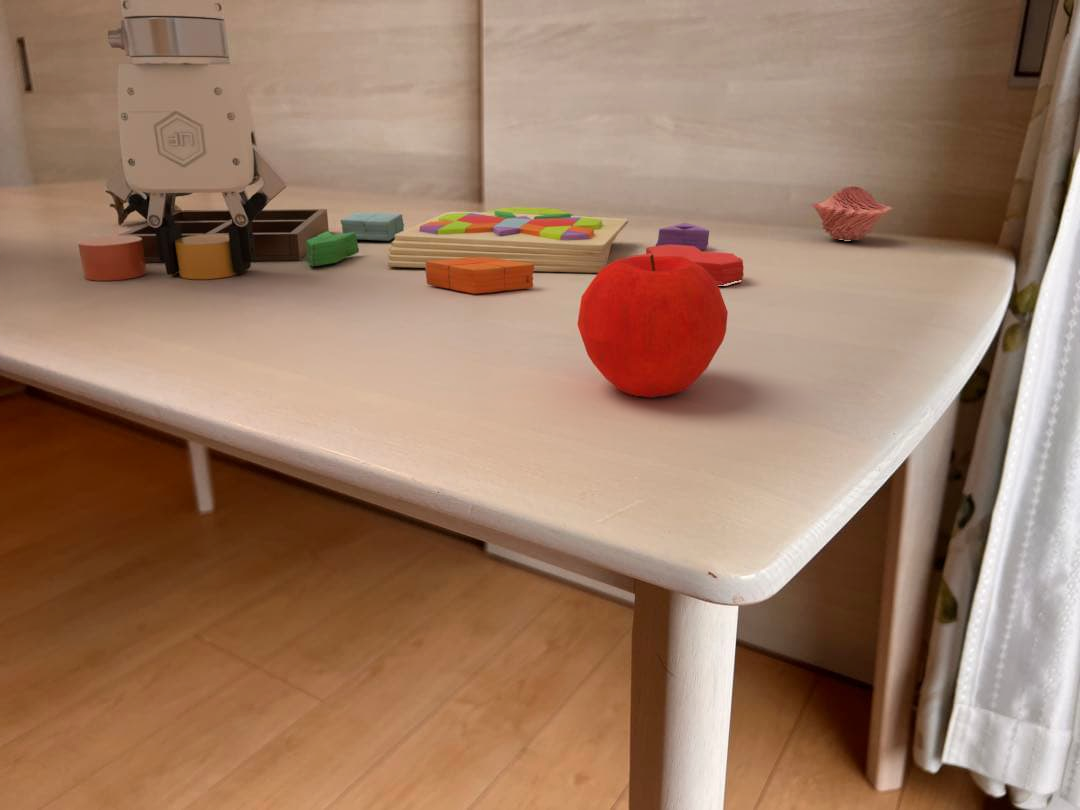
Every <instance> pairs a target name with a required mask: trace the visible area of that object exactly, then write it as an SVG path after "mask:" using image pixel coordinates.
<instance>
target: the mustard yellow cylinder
mask: <svg viewBox="0 0 1080 810" xmlns="http://www.w3.org/2000/svg"><path fill="white" fill-rule="evenodd" d="M175 248H176V255H177V261H178V268H179V272H178V274H179V277H180V278H183V279H187V280H199V281H201V280H202V281H203V280H217V279H224V278H229V277H232V276H235V275H238V274H239V273H236V272H234V270H233V263H232V256H231V248H230V240H229V235H218V234H213V235H196V236H189V237H183V238H180V239H177V240H175Z"/></svg>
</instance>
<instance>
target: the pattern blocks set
mask: <svg viewBox="0 0 1080 810" xmlns="http://www.w3.org/2000/svg"><path fill="white" fill-rule="evenodd" d="M628 223H629V219H628V217H627V218H625V217H624V218H623V217H604V216H583V215H581V216H579V215H574V214H573V213H570V212H567V211H564V210H561V209H559V208H555V207H553V208H552V207H520V206H519V207H518V206H517V207H515V206H508V207H503V208H497V209H493V210H487V211H482V212H481V211H447V212H444V213H441V214H439V215H437V216H435V217H431V218H430V219H427V220H426V221H423V222H421V223H418V224H416V225H414V226H412V227H408V228H406V229H404V228H405V223H404V219H403V214H402V213H392V212H391V213H387V212H380V213H379V212H369V211H368V212H366V211H357V212H355V213H353V214H351V215H348V216H346V217H343V218H341V219H340V224H341V231H342V233H339V234H333V233H331V232H330V230H329V231H327V232H324V233H322V234H319V235H318V236H316V237H314V238H311V239H309V240H307V241H306V244H307V254H306V262H307V263H308V264H309V265H310V266H311V267H319V266H324V265H332V264H336V263H338V262H340V261H342V260H344V259H346V258H348V257H352V256H353V255H355V254H358V253H359V252H360V248H359V244H358V240H366V241H385V242H388V241H391V240H392V239H394V240H393V241H391V247H390V248H389V254H388V261H387V266H388V267H390V268H414V269H425V270H424V271H425V278H426V284H427V285H428V286H433V287H439V288H443V289H450V290H453V291H457V292H463V293H468V294H474V295H475V294H476V295H477V294H486V293H499V292H503V291H504V292H505V291H515V290H525V289H526V290H527V289H532V288H533V286H534V272H547V273H548V272H551V273H555V272H556V273H560V272H561V273H590V274H592V273H593V274H598V273H599V272H600V270H601V269H602V268H603V267H605V266H607V265H608V260H609V255H610V252H611V247H612V245H613V243H614V242H615V240H616V238H617V236H618V235H619V234H620V233H621V232H622V231H623V229H624V228H625V227H626V226H627V225H628ZM709 237H710V230H709V229H706V228H703V227H702V226H698V225H694V224H692V223H687V222H683V223H680V224H679V223H678V224H675V225H671V226H666V227H662V228H659V229H658V236H657V241H656V243H655V245H653V246H647V247H645V253H641V254H635V255H634V254H633V255H631V256H629V258H631V257H640V256H649V257H650V256H651V255H652V254H653V257H663V256H680V257H684V258H686V259H688V260H691V261H693V262H695V263H697V264H698V265H700V266H702V267H703V268H704V269H706V270H707V271H708V273H709V274H710V275H711V276H712V278H713V279H714V280H715V281H716V283H717V284H718V285H724V284H727V283H731V282H734V281H739V280H742V281H743V277H744V276H745V274H744V261H743V259H742V258H741V257H739V256H737V255H736V254H734V253H730V252H721V251H720V252H718V251H707V250H708V245H709Z"/></svg>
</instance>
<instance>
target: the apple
mask: <svg viewBox="0 0 1080 810" xmlns="http://www.w3.org/2000/svg"><path fill="white" fill-rule="evenodd" d="M630 257H631V256H630ZM630 257H624V258H618V259H616V260H614V261H612V262H610V263H608V264H607V266H605V267H603V268H602V269H601V270H600V272H599V273H596V275H595V277H594V278H593V279H592V281H591V282H589V285H588V286H587V288H586V289H585V291H584V292H583V294H582V295H581V298H580V303H579V311H578V318H577V328H578V332H579V334H580V337H581V339H582V342H583V346H584V349H585V351H586V354H587V357H588V358H589V359H590V361H591V363H592V364H593V366H595V368H596V369H597V370H598V371H599V372H600V374H601V375H602V376H603V377H604V378H605V379H606V380H607V381H608V382H609V383H610V384H611V385H613V386H614V387H615V388H616V389H617V390H618V391H621V392H623V393H625V394H627V395H630V396H633V395H636V396H635V397H638V396H645V397H644V398H653V397H652V396H662V397H666V396H665V395H668V396H671V395H674V394H677V393H680V392H683V391H686V390H687V389H689V387H690V386H691V385H693V383H695V381H697V379H698V378H699V377H700V376H701V375H702V374H703V373H704V372H705V371H706V370H707V369H708V368H709V365H710V364H711V363H712V361H713V359H714V357H715V355H716V354H717V352H718V350H719V348H720V347H721V345H722V343H723V342H724V339H725V336H726V333H727V325H728V314H729V312H728V309H727V307H726V303H725V301H724V298H723V295H722V292H721V289H720V287H718V284H717V283H716V281H715V280H714V279H713V278H712V276H711V275H710V274H709V273H708V271H707V270H706V269H704V268H703V267H702V266H700V265H698V264H697V263H695V262H693V261H691V260H688V259H686V258H684V257H680V256H663V257H653V254H652V255H651V256H650V257H649V256H640V257H631V258H630ZM670 394H671V395H670Z"/></svg>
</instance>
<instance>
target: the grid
mask: <svg viewBox="0 0 1080 810" xmlns="http://www.w3.org/2000/svg"><path fill="white" fill-rule="evenodd" d="M182 210H183V211H182ZM182 210H176V211H174V212H173V217H174V220H175V222H178V224H180V226H181V232H182V238H183V237H189V236H196V235H213V234H218V235H229V232H228V229H229V228H230V227H232V216H231V214H230V211H229V209H182ZM328 216H329V215H328V209H327V208H291V209H290V208H289V209H287V208H285V209H283V208H282V209H281V208H279V209H275V208H274V209H263V210H262V211H261V212H260V213H259V214H258V215H257V216H256V218H255V219H254V221H252V222H251V223H252V232H253V240H254V248H255V260H254V261H253V262H281V261H282V262H285V261H290V262H292V261H293V262H294V261H301V260H302V259H303V258H304V257H305V256H307V244H306V241H307V240H309V239H311V238H314V237H316V236H318V235H319V234H322V233H324V232H327V231H329V232H330V227H329V218H328ZM120 235H126V236H138V237H141V238H142V240H143V247H144V253H145V259H146V263H161V262H160V259H159V253H158V247H157V241H156V234H155V228H154V227H151V226H150V225H149V224H148V222H145V223H143V224H140V225H138V226H136V227H134V228H132V229H129V230H127V231H125V232H122V233H119V234H117V235H116V236H120Z"/></svg>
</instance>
